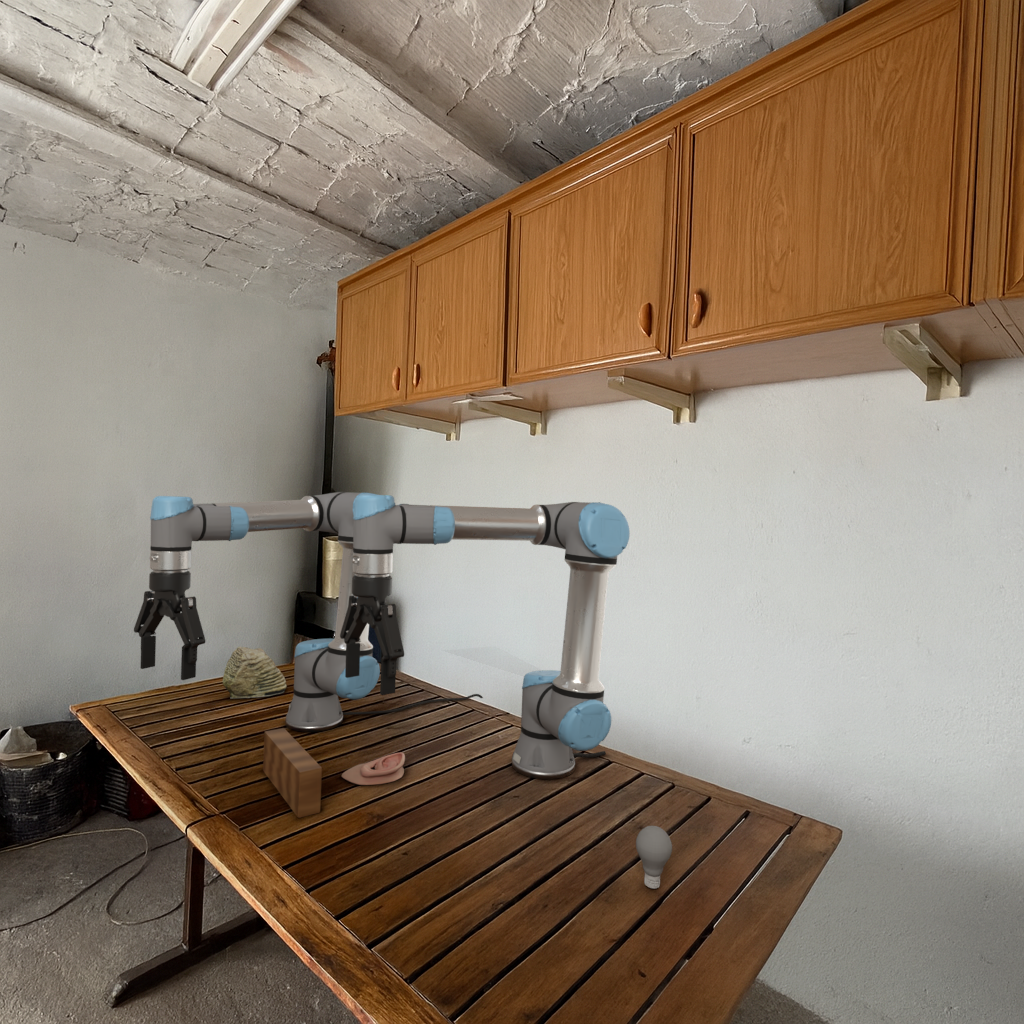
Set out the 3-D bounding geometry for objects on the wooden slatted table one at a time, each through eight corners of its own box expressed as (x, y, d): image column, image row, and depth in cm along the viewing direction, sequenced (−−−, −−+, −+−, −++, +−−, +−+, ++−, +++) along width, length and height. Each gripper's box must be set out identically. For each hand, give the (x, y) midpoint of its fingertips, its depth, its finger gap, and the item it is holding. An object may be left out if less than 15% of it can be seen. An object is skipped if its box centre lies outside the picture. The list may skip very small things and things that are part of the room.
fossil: (218, 695, 195) (220, 647, 195) (278, 685, 208) (279, 640, 207) (228, 703, 189) (230, 653, 188) (289, 692, 201) (290, 645, 201)
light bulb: (629, 875, 110) (632, 818, 110) (663, 875, 110) (666, 818, 110) (639, 897, 104) (642, 837, 104) (675, 897, 104) (678, 837, 104)
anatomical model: (335, 763, 141) (358, 744, 152) (334, 781, 141) (357, 761, 152) (391, 771, 138) (410, 751, 149) (391, 789, 138) (410, 768, 149)
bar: (262, 770, 145) (264, 731, 145) (282, 766, 148) (284, 727, 147) (298, 818, 125) (299, 772, 124) (320, 812, 127) (322, 767, 127)
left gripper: (116, 566, 133) (114, 666, 134) (192, 578, 121) (188, 687, 122) (151, 564, 140) (149, 659, 140) (226, 574, 128) (223, 678, 129)
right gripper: (324, 568, 128) (322, 672, 129) (389, 584, 110) (385, 705, 110) (358, 567, 133) (355, 667, 134) (425, 581, 115) (422, 697, 115)
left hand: (167, 672), depth 131 cm, fingers open, 13 cm apart
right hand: (369, 684), depth 122 cm, fingers open, 13 cm apart
